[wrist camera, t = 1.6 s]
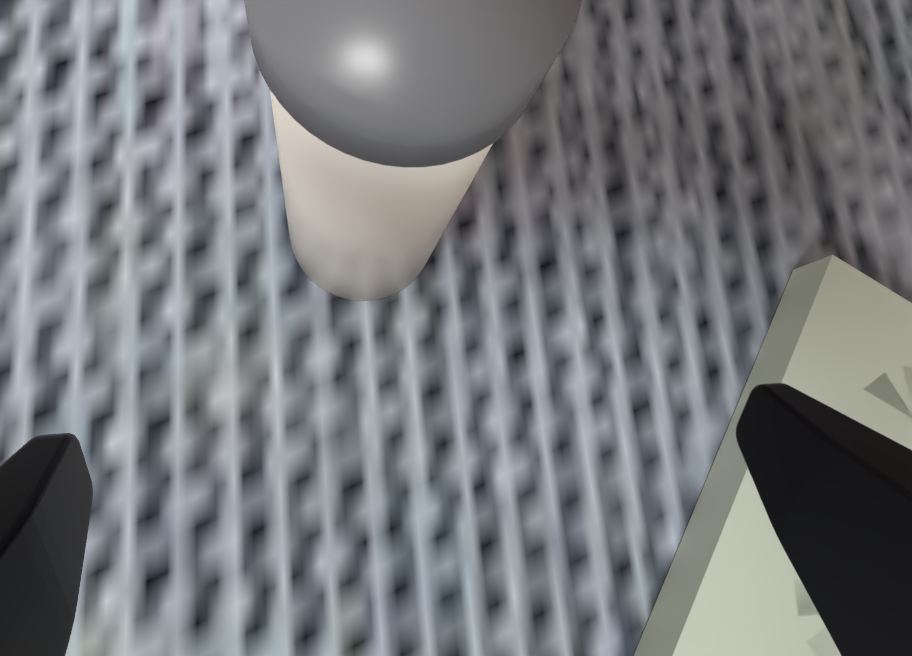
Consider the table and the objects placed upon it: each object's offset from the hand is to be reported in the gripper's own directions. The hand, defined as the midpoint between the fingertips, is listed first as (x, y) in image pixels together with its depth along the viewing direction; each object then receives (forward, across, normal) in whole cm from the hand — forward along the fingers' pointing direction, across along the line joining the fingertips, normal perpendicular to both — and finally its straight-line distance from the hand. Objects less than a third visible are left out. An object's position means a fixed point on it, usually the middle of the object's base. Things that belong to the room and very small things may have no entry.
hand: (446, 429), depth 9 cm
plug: (+14, 0, +4) cm, 14 cm away
